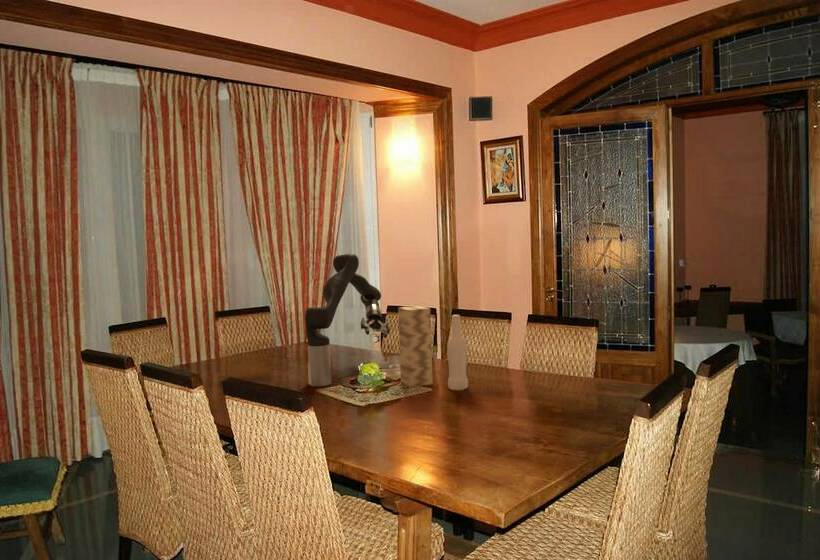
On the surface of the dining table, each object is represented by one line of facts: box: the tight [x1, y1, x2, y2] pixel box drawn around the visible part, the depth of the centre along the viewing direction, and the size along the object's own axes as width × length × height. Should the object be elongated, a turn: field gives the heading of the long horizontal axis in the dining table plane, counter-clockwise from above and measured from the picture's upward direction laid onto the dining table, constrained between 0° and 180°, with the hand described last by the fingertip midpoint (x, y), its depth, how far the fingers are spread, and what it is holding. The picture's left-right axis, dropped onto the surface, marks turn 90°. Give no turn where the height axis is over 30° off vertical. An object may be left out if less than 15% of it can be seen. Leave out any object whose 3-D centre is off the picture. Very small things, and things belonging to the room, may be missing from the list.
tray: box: [380, 368, 401, 378], centre depth 287 cm, size 14×14×2 cm
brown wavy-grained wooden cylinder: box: [397, 305, 433, 387], centre depth 272 cm, size 10×11×32 cm
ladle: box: [378, 354, 400, 370], centre depth 296 cm, size 6×21×6 cm, turn 22°
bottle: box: [446, 314, 469, 391], centre depth 260 cm, size 8×8×30 cm
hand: (376, 335), depth 306 cm, fingers open, 8 cm apart
